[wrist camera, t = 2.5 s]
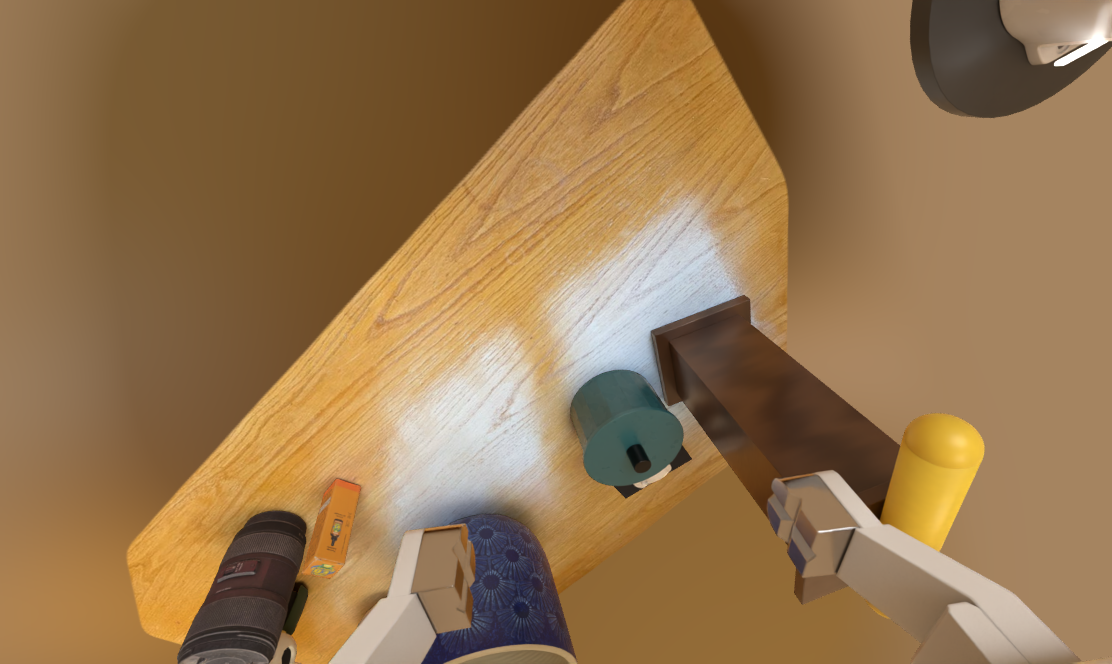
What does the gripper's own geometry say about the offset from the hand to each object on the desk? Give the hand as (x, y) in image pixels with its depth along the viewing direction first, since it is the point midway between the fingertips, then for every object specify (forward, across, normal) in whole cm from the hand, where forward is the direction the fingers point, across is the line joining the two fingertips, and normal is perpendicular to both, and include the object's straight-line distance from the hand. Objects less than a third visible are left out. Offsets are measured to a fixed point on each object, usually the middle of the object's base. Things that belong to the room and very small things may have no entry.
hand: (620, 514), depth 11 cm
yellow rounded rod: (+10, -21, +18) cm, 29 cm away
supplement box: (+30, +29, +30) cm, 52 cm away
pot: (+35, -6, +26) cm, 44 cm away
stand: (+36, -18, +20) cm, 45 cm away
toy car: (+36, -10, +38) cm, 53 cm away
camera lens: (+29, +38, +34) cm, 59 cm away
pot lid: (+27, -7, +26) cm, 38 cm away
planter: (+33, +15, +47) cm, 59 cm away
